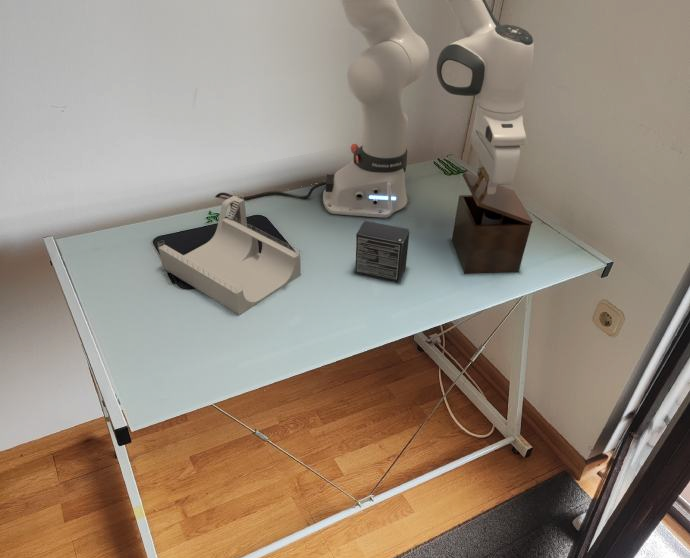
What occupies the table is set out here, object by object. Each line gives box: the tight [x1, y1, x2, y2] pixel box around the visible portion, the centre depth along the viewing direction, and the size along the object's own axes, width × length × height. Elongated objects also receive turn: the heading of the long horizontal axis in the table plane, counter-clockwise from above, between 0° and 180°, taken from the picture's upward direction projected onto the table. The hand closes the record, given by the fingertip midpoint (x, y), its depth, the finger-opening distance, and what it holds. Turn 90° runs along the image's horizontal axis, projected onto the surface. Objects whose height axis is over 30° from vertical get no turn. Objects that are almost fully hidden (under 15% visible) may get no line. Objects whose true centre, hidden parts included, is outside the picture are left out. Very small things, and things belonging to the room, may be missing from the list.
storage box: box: [450, 194, 532, 275], centre depth 132 cm, size 13×14×12 cm
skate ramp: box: [157, 190, 302, 316], centre depth 128 cm, size 25×23×10 cm
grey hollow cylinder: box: [481, 210, 504, 225], centre depth 132 cm, size 4×4×10 cm
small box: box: [354, 220, 411, 284], centre depth 128 cm, size 11×6×10 cm, turn 71°
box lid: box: [462, 167, 534, 226], centre depth 125 cm, size 13×14×5 cm
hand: (485, 184), depth 124 cm, fingers closed on box lid, 6 cm apart
